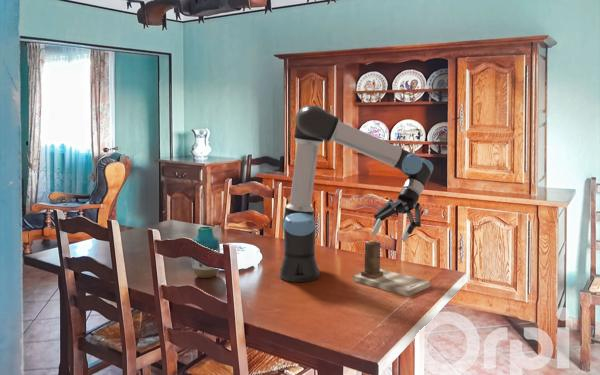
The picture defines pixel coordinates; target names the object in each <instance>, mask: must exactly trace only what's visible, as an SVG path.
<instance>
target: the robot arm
mask: <svg viewBox="0 0 600 375" xmlns="http://www.w3.org/2000/svg"><path fill="white" fill-rule="evenodd" d="M294 122H295V127H294V135H293V139H294V140H295V142H296V143H297V144H296V151H295V157H294V159H295V160H294V165H293V166H294V167H293V174H292V181H291V188H290V189H291V190H290V198H289V202H288V203H287V204H286V205H285V207H284V215H283V219H282V221H281V222H282V223H281V227H282V232H283V243H284V244H283V249H284V250H283V259H282V263H281V267H280V269H279V278H280V279H281V280H283V281H286V282H291V283H308V282H312V281H316V280H318V279H319V278H320V268H319V267H318V263H317V260H316V253H315V252H316V247H315V246H316V220H315V218H314V213H315V209H314V207H313V206H312V200H313V199H312V198H313V194H314V193H313V192H314V184H315V179H316V170H317V162H318V156H319V155H318V154H319V147H320V146H321V145H322V144H323V143H324V141H325V142H328V143H330V142H335V143H337V144H339V145H341V146H344V147H346V148H348V149H351V150H353V151H355V152H358V153H360V154H363V155H365V156H367V157H369V158H371V159H374V160H377V161H379V162H381V163H384V164H385V165H388V166H390V167H393V168H394V169H397V170H398V171H400V172H401V173H403V175H405V176H406V177H407V178H406V180H405V182H404V184H403V186H402V188H401V190H400V192H399V193H398V195H397V199H396V200H393V199H392V198H390V199H388V201H387V202H386V204H384V205H383V206H382V207H381V208H380V209H379V210H377V211H376V212H375V213H374V214H373V217H374V219H375V221H374V223H373V227H372V229H371V232H370V233H371V234H372V235H373V236H374V237H377V234H378V232H379V230H380V228H381V227H382V224H383V221H384V220H386V219H388V218H389V217H392V216H393V215H394V214H395V215H396V214H407V217H408V221H409V223H407V225H406V227H405V229H404V231H403V233H402V235H401V237H400V238H401V240H402V242H403V243H406V242H407V240H408V237H409V236H410V235H412V234H413V232H414V230H415V228H417V227H418V228H421V226H422V220H421V219H422V218H421V210H422V208H423V206H422V205H421V204H420V203H419V198H420V197H421V195H422V193H423V191H424V189H425V188H426V185H427V183H428V182H429V180H430V178H431V176H432V174H433V171H434V164H433V163H432V162H431V161H430V160H429V159H426V158H423V157H422V158H421V157H420V156H419V155H418V154H416V153H414V152H410V151H408V150H405V149H403V147H400V146H399V145H397V144H392V143H389V142H387V141H386V140H383V139H381V138H378V137H376V136H373V135H371V134H369V133H368V132H365V131H363V130H361V129H358V128H355V127H353V126H351V125H349V124H347V123H344V122H342V121H341V119H340V117H338V116H335V115H334V114H332V113H330V112H328V111H326V110H325V109H324V108H322V107H321V106H318V105H305V106H303V107H301V108H300V109H299V110H298V112H297V113H296V115H295V120H294ZM413 209H414V218H415V220H414V218H413V213H412V211H413Z"/></svg>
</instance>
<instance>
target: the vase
mask: <svg viewBox="0 0 600 375" xmlns="http://www.w3.org/2000/svg"><path fill="white" fill-rule="evenodd" d="M213 229H214V228H213V226H210V225H204V226H203V225H202V226H198V228H197V236H196V237H194V238H193V239H192V241H193V240H194V241H196V242H197V243H199V244H201V245H203V246H205V247H208V248H210V249H213V250H216V251H218V252H220V253H221V247H220V240H219V238H218V237H216V236H215V235H214V231H213ZM191 266H192V272H193V273H194V275H195V276H197V277H198V278H200V279H201V278H203V279H208V278H213V277H215V276H217V274H218V273H219V271H220V268H219V269H214V268H210V267H207V266H205V265H203V264H201V263H199V262H198V261H196V260H194V259H192V258H191Z"/></svg>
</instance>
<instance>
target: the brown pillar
mask: <svg viewBox="0 0 600 375" xmlns="http://www.w3.org/2000/svg"><path fill="white" fill-rule="evenodd" d="M364 243H365V244H364V270H362V271H360V273H361V276H365V277H368V278H372V279H376V278H378V277H381V276H383V272H382V271H380V269H381V242H378V241H376V240H372V239H371V240H369V241H367V242H364Z"/></svg>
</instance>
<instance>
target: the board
mask: <svg viewBox="0 0 600 375" xmlns="http://www.w3.org/2000/svg"><path fill="white" fill-rule="evenodd" d="M380 271H382V272H383V276H381V277H378V278H376V279H372V278H368V277H365V276H361V272H360V273H356V274H354V275H353V276H352V281H353V282H354V283H355V282H356V283H359V284H362V285H366V286H369V287H370V286H371V287H374V288H377V289H380V290H384V291H388V292H391V293H395V294H398V295H400V296H401V295H402V296H405V297H410V296H413V295H416V294H417V293H419V292H422V291H424V290H426V289H428V288H430V287H431V281H429V280H426V279H422V278H417V277H413V276H409V275H406V274H402V273H398V272H394V271H390V270H387V269H386V270H385V269H382V268H380Z"/></svg>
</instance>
